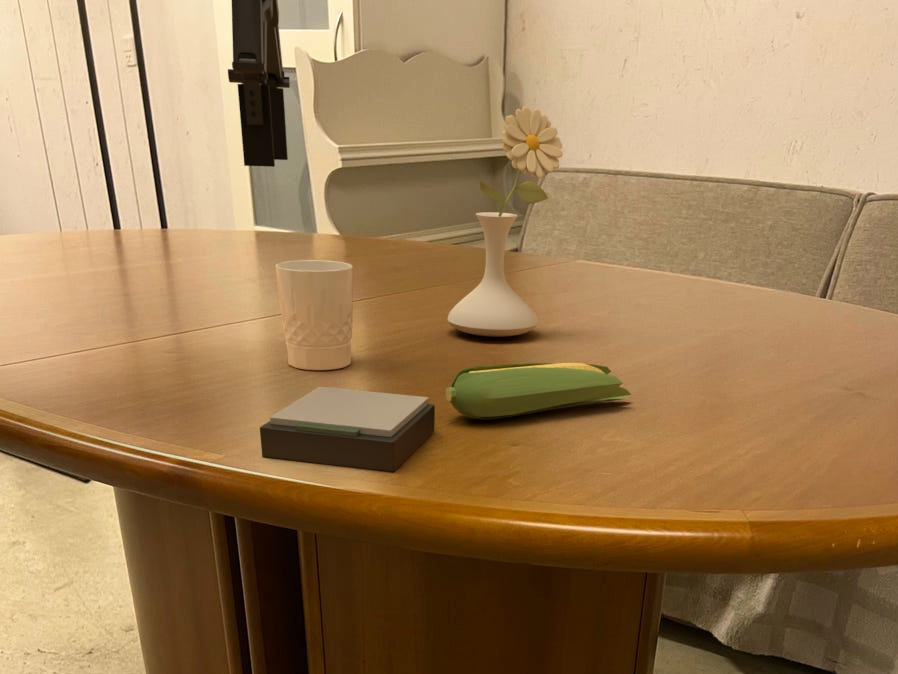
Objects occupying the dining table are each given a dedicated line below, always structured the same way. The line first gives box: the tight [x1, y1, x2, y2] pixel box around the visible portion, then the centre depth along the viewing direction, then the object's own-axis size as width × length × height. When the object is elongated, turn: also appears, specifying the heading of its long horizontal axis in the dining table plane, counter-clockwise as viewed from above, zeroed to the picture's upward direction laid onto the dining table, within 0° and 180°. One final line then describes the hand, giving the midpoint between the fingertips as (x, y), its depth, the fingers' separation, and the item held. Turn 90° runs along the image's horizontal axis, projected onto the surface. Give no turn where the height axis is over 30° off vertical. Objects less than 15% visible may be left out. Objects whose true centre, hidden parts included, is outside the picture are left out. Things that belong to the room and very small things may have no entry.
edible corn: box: [445, 362, 632, 421], centre depth 85 cm, size 5×20×5 cm, turn 118°
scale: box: [259, 386, 436, 473], centre depth 76 cm, size 11×11×3 cm
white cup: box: [275, 259, 354, 371], centre depth 98 cm, size 8×8×10 cm
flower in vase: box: [446, 106, 563, 338], centre depth 111 cm, size 13×11×25 cm
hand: (267, 163), depth 92 cm, fingers open, 13 cm apart
